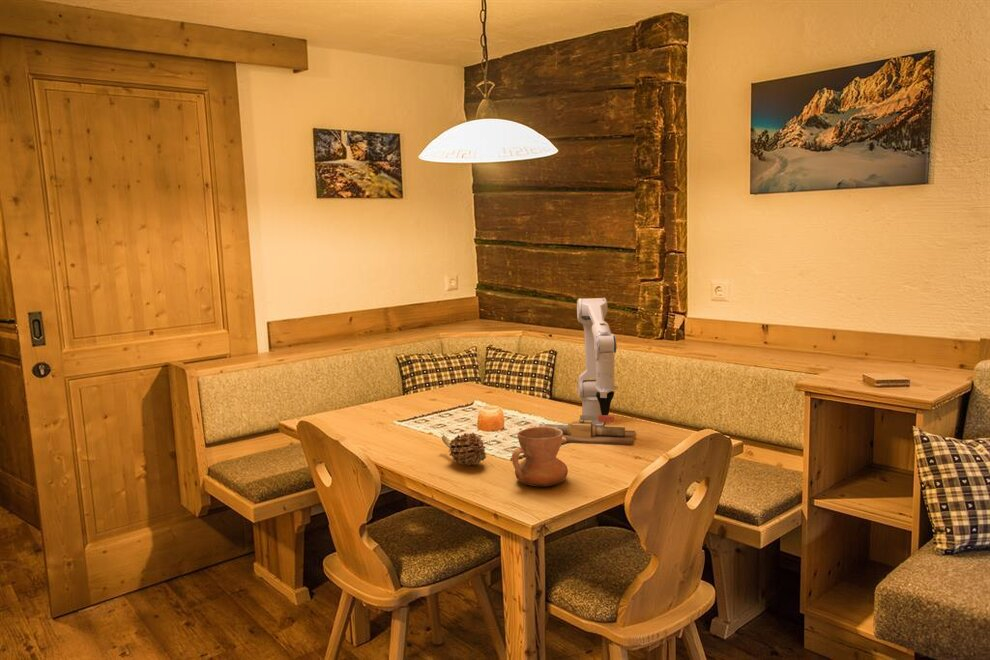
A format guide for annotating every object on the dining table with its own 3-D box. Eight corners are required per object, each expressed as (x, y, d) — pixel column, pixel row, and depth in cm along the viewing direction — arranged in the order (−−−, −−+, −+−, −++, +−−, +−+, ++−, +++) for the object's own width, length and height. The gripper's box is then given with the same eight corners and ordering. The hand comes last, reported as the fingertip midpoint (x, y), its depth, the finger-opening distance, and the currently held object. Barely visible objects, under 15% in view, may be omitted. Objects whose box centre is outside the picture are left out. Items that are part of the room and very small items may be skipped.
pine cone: (496, 467, 216) (495, 434, 215) (470, 475, 210) (469, 441, 209) (451, 450, 233) (450, 419, 232) (426, 457, 227) (425, 425, 226)
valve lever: (579, 422, 243) (578, 415, 243) (579, 420, 245) (579, 414, 244) (613, 423, 240) (613, 416, 240) (614, 422, 242) (614, 415, 242)
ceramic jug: (550, 468, 214) (548, 420, 212) (582, 482, 202) (581, 431, 200) (498, 482, 205) (496, 432, 203) (528, 497, 193) (526, 445, 191)
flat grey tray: (534, 428, 255) (534, 415, 254) (634, 433, 247) (635, 419, 247) (527, 440, 241) (527, 426, 241) (633, 445, 234) (633, 430, 233)
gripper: (616, 378, 226) (616, 421, 229) (619, 368, 240) (619, 409, 243) (593, 377, 228) (593, 420, 230) (597, 368, 242) (597, 408, 244)
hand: (605, 414), depth 236 cm, fingers closed
